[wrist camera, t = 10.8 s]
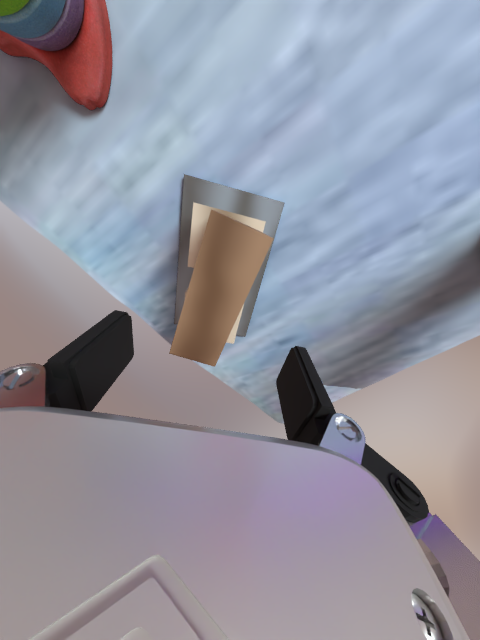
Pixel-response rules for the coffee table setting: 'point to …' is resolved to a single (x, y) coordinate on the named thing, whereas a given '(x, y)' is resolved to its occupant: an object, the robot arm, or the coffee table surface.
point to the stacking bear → (63, 43)
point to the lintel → (218, 287)
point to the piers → (193, 224)
